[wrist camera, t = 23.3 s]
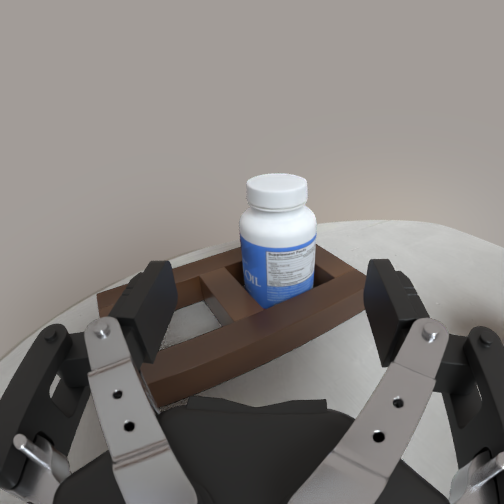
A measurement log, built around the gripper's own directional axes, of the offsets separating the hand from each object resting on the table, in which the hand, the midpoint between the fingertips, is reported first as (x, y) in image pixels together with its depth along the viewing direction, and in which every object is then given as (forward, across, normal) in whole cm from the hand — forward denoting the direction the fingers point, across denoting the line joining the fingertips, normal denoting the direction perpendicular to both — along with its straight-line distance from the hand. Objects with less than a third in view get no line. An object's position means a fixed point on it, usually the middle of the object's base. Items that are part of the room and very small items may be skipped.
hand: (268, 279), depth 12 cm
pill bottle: (+9, 0, +9) cm, 13 cm away
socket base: (+7, +3, +9) cm, 12 cm away
